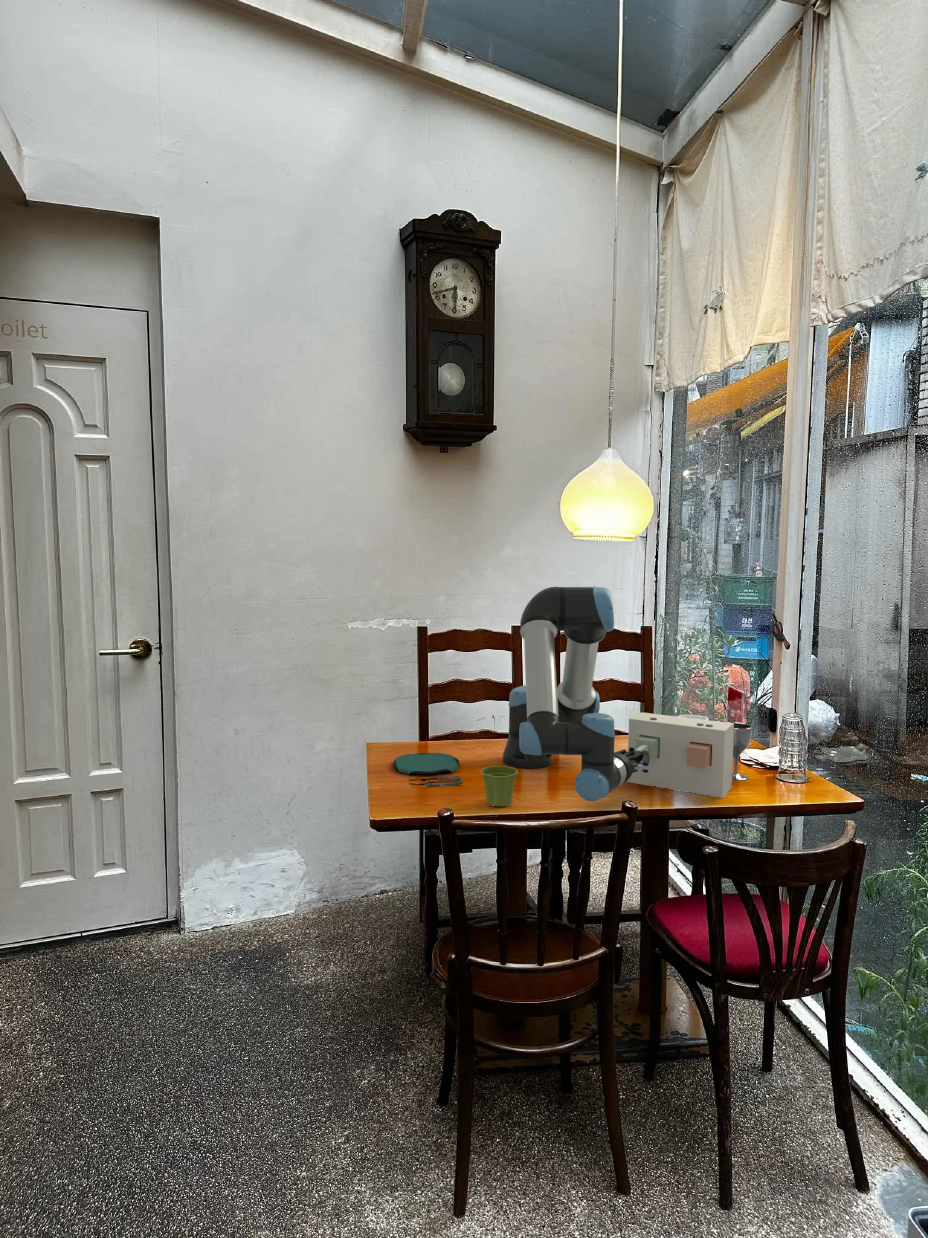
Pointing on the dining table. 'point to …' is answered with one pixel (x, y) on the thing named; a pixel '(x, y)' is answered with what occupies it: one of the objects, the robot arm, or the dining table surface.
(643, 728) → the console
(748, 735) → the wine glass
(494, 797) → the plant pot
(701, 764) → the terracotta button
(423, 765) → the cutlery set
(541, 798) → the dining table surface
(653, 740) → the sage button
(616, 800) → the dining table surface
